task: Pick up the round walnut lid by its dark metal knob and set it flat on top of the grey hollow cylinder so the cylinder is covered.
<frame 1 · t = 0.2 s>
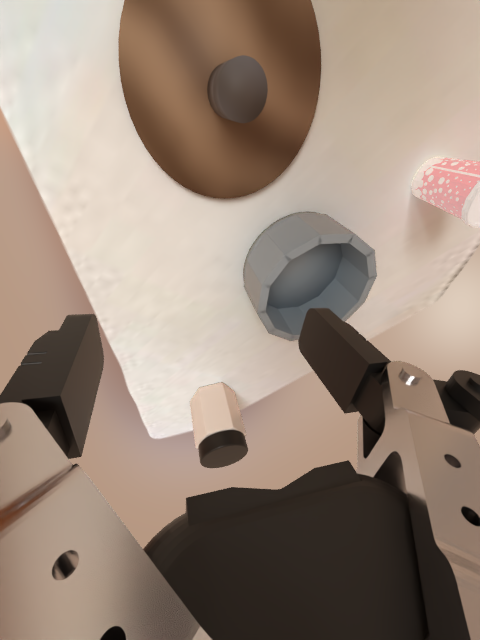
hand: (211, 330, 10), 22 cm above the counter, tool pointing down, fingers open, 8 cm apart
walnut lid: (225, 92, 23), on the counter
grey hollow cylinder: (294, 266, 36), on the counter
beverage cup: (426, 177, 33), on the counter
jar: (212, 394, 52), on the counter
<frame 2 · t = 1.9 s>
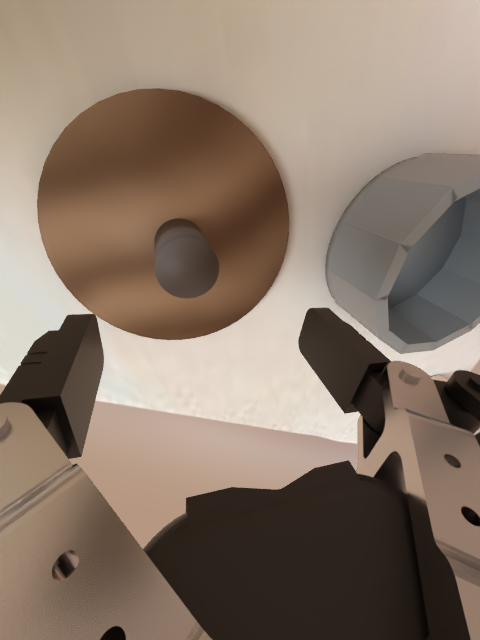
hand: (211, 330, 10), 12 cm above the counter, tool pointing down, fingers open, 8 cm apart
walnut lid: (179, 239, 20), on the counter
grey hollow cylinder: (394, 246, 25), on the counter
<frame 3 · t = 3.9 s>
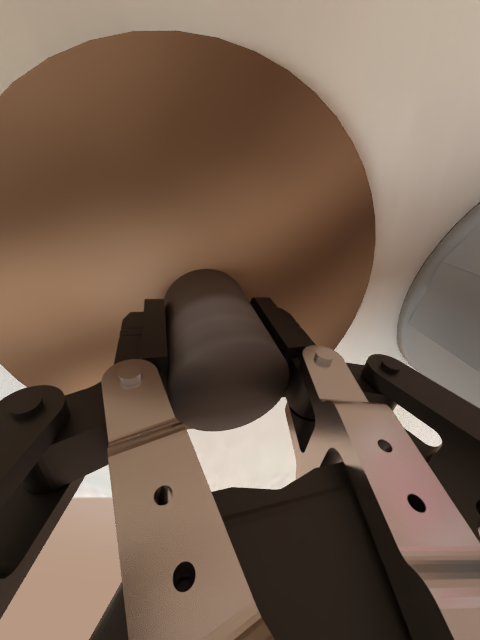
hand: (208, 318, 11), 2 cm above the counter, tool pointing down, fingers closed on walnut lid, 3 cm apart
walnut lid: (201, 295, 12), on the counter, touching gripper
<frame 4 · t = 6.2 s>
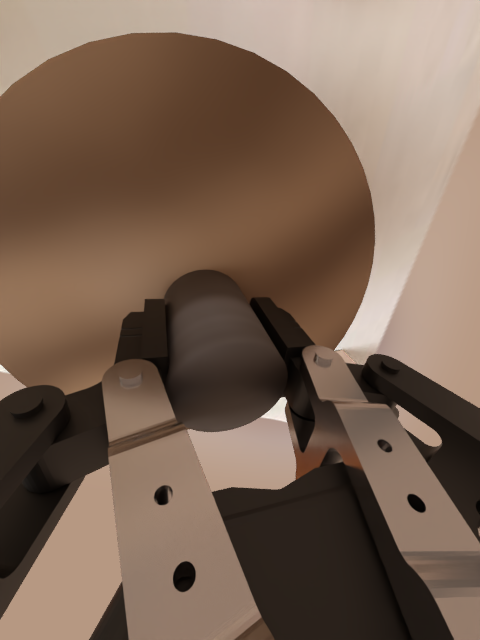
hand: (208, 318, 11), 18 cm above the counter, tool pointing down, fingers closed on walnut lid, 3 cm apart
walnut lid: (200, 295, 13), point 16 cm above the counter, touching gripper
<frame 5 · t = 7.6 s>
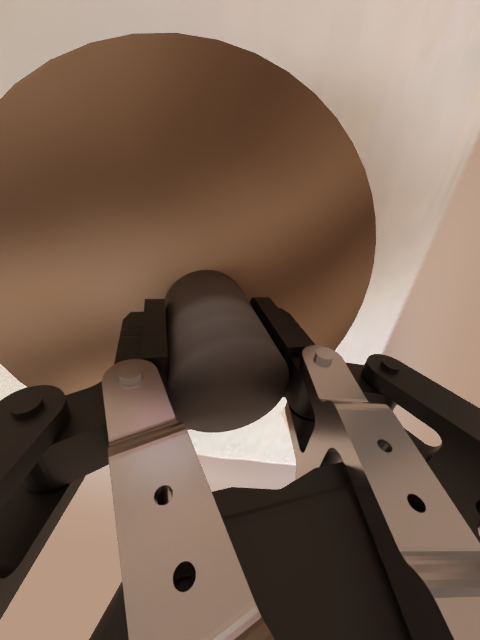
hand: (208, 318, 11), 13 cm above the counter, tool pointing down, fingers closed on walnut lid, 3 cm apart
walnut lid: (201, 295, 13), point 11 cm above the counter, touching gripper
when the fingers open (11 cm above the counter, at t = 8.7 s): walnut lid drops 1 cm, resting on grey hollow cylinder.
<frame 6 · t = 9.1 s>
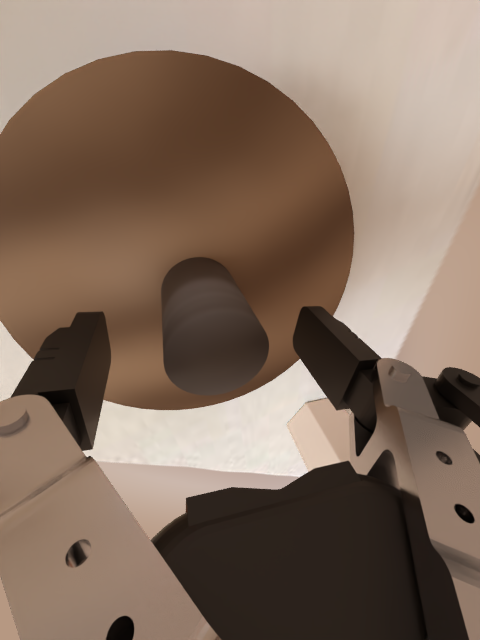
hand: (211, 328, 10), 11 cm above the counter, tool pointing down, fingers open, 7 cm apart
walnut lid: (196, 282, 14), point 7 cm above the counter, touching grey hollow cylinder
jar: (314, 416, 37), on the counter
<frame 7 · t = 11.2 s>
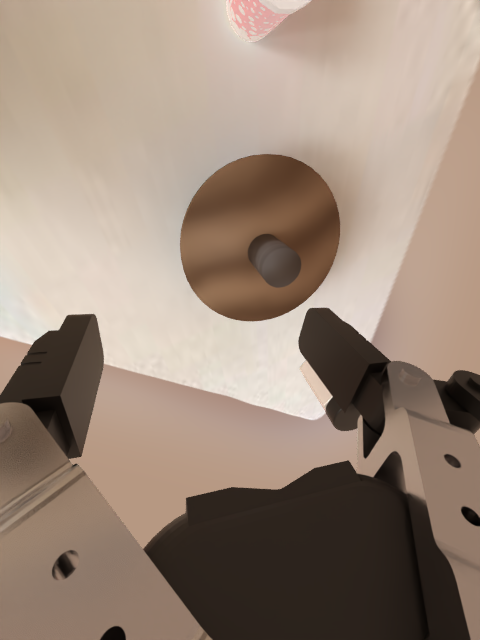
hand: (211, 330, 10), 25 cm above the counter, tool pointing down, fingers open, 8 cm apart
walnut lid: (261, 248, 28), point 7 cm above the counter, touching grey hollow cylinder
beverage cup: (250, 6, 23), on the counter
jar: (319, 363, 51), on the counter
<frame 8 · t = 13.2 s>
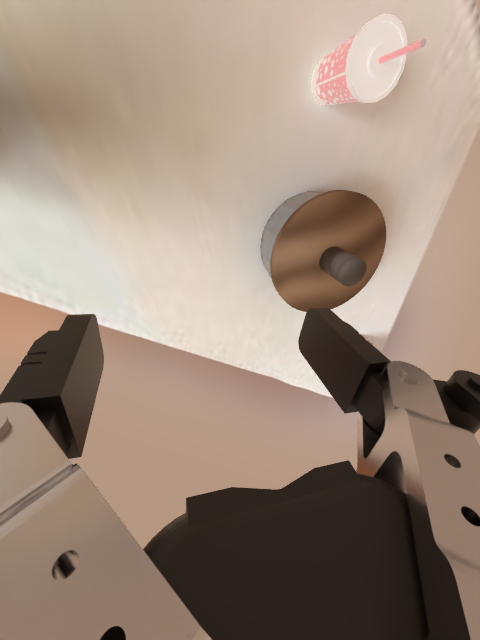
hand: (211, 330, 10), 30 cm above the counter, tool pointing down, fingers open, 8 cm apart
walnut lid: (326, 256, 37), point 7 cm above the counter, touching grey hollow cylinder
grey hollow cylinder: (304, 242, 42), on the counter
beverage cup: (327, 82, 32), on the counter
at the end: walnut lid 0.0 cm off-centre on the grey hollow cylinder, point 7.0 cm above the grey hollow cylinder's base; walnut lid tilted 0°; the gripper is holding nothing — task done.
